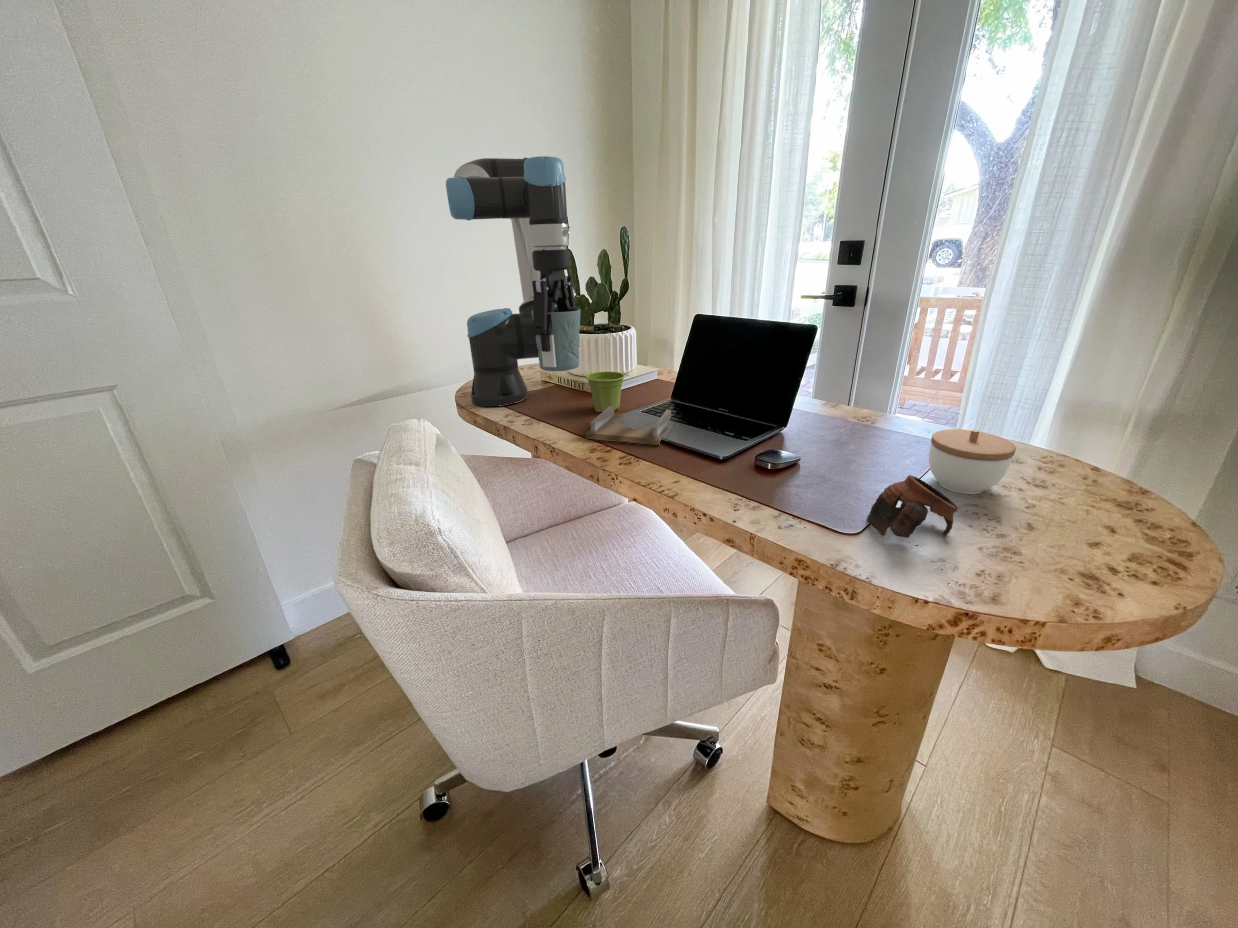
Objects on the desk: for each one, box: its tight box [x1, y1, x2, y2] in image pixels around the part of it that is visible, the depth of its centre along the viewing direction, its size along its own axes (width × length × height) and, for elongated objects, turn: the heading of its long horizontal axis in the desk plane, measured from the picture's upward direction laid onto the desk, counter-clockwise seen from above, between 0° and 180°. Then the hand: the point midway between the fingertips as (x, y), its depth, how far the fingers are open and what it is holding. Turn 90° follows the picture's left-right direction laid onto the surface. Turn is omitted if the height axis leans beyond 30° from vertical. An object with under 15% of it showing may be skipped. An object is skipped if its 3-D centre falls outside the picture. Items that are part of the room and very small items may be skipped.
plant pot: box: [585, 370, 626, 411], centre depth 120 cm, size 9×9×9 cm
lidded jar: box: [928, 428, 1017, 495], centre depth 77 cm, size 11×11×9 cm
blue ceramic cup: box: [531, 307, 581, 372], centre depth 104 cm, size 10×10×12 cm
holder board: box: [585, 406, 672, 446], centre depth 106 cm, size 16×14×4 cm
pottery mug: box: [867, 474, 959, 539], centre depth 66 cm, size 12×10×8 cm
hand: (560, 361), depth 106 cm, fingers closed on blue ceramic cup, 9 cm apart
